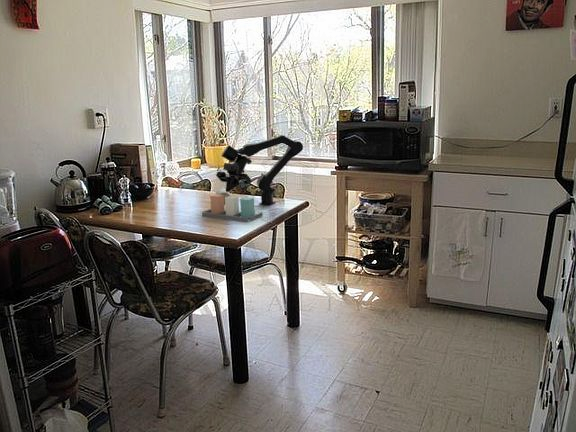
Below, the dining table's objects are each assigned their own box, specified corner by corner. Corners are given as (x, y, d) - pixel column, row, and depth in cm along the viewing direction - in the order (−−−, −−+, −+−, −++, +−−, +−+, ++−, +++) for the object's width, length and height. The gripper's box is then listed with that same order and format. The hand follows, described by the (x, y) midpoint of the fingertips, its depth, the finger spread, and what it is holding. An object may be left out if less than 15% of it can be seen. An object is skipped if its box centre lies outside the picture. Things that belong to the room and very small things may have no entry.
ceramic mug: (218, 205, 264) (217, 191, 262) (216, 202, 271) (215, 188, 269) (237, 204, 266) (237, 190, 264) (235, 201, 274) (234, 187, 272)
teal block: (246, 215, 238) (245, 197, 235) (254, 216, 235) (253, 198, 233) (241, 217, 234) (240, 199, 232) (249, 218, 232) (248, 200, 230)
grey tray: (217, 210, 253) (217, 205, 252) (267, 217, 238) (266, 211, 237) (199, 217, 242) (198, 212, 241) (249, 224, 226) (249, 218, 226)
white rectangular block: (231, 213, 242) (230, 195, 240) (239, 214, 240) (238, 196, 237) (226, 215, 239) (224, 197, 237) (234, 216, 237) (233, 198, 234)
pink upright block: (216, 211, 247) (215, 194, 245) (224, 212, 244) (223, 194, 242) (211, 213, 244) (210, 195, 241) (219, 214, 241) (218, 196, 239)
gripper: (216, 155, 254) (204, 181, 248) (246, 157, 244) (233, 183, 238) (227, 168, 262) (215, 193, 256) (256, 170, 252) (244, 196, 246)
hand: (226, 191), depth 249 cm, fingers closed
